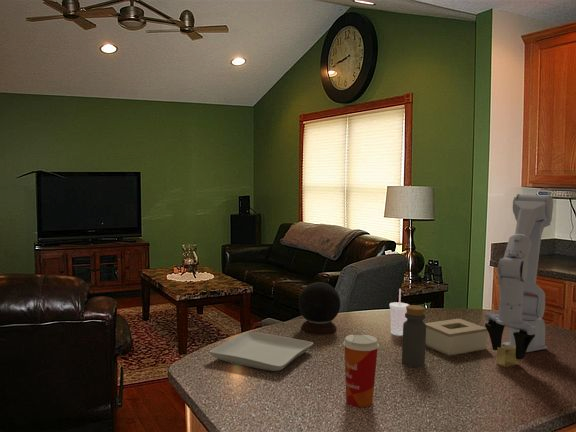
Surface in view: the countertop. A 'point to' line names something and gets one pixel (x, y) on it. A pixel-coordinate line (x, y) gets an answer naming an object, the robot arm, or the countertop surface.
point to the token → (506, 355)
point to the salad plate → (261, 350)
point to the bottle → (414, 337)
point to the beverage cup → (397, 316)
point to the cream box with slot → (455, 336)
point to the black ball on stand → (319, 308)
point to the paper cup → (360, 369)
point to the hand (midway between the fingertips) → (507, 354)
